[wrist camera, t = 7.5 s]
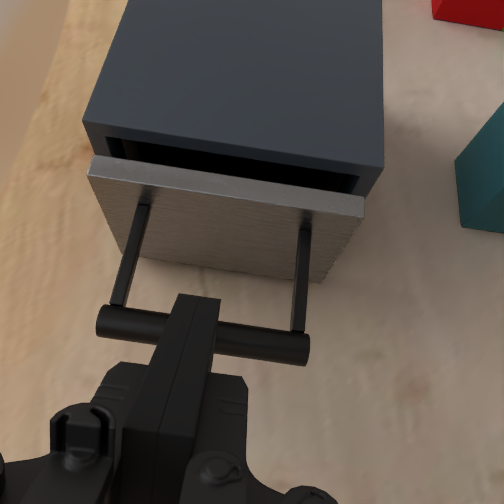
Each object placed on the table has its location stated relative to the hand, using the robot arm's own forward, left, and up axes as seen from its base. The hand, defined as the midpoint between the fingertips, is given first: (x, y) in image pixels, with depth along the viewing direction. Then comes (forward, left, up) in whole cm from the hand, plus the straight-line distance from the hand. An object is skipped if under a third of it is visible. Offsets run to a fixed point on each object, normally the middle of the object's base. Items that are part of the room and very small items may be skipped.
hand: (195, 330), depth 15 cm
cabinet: (+9, -13, -10) cm, 19 cm away
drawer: (+6, -8, -9) cm, 14 cm away
